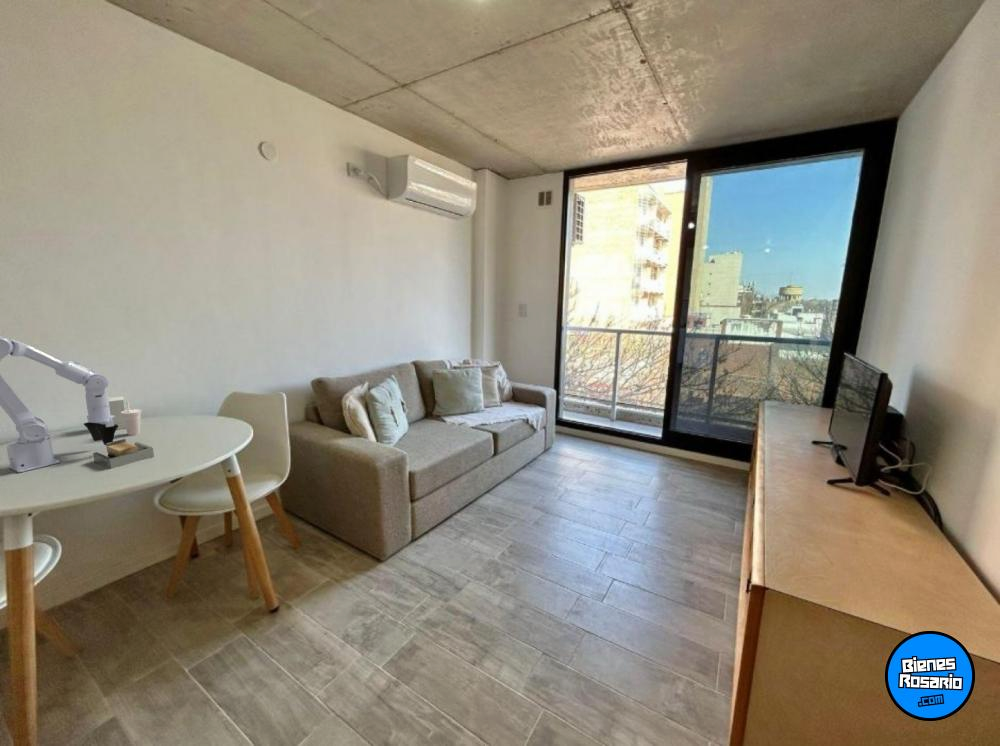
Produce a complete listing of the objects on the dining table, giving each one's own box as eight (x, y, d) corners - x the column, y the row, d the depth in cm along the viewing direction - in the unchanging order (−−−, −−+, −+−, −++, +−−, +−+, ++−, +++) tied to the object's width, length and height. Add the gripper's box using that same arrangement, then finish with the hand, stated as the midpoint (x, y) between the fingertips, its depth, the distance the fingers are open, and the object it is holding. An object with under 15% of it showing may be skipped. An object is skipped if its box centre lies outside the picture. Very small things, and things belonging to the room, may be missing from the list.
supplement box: (127, 428, 172) (123, 399, 170) (103, 431, 167) (99, 402, 165) (127, 423, 178) (123, 396, 175) (103, 427, 173) (99, 398, 170)
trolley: (118, 463, 138) (116, 448, 137) (106, 458, 142) (104, 443, 141) (140, 457, 144) (138, 442, 143) (128, 453, 147) (126, 438, 146)
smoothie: (120, 434, 165) (115, 401, 162) (140, 430, 170) (135, 398, 168) (127, 437, 162) (123, 403, 159) (147, 433, 168) (143, 400, 165)
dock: (110, 468, 134) (108, 459, 134) (94, 461, 139) (92, 453, 138) (154, 456, 145) (153, 447, 145) (138, 450, 150) (137, 442, 149)
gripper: (122, 407, 146) (127, 442, 148) (103, 401, 152) (107, 435, 154) (96, 411, 139) (101, 448, 142) (77, 405, 145) (82, 440, 148)
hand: (103, 442), depth 148 cm, fingers open, 7 cm apart
